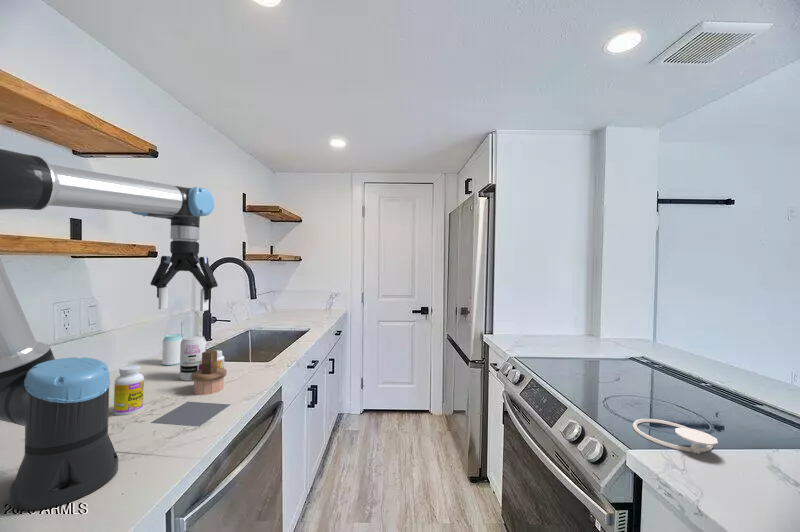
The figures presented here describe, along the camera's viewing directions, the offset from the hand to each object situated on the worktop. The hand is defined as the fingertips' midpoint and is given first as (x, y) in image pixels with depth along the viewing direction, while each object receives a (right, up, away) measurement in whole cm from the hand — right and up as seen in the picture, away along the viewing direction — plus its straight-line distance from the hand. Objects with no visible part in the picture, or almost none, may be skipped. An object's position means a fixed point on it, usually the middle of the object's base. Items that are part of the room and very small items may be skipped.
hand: (183, 309), depth 104 cm
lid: (+2, -24, +10) cm, 26 cm away
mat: (+8, -29, -8) cm, 31 cm away
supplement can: (-11, -29, +22) cm, 38 cm away
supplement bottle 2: (-2, -29, +21) cm, 36 cm away
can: (-29, -28, +38) cm, 56 cm away
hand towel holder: (+140, -33, -15) cm, 144 cm away
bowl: (+2, -29, +10) cm, 30 cm away
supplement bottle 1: (-11, -29, -7) cm, 32 cm away
